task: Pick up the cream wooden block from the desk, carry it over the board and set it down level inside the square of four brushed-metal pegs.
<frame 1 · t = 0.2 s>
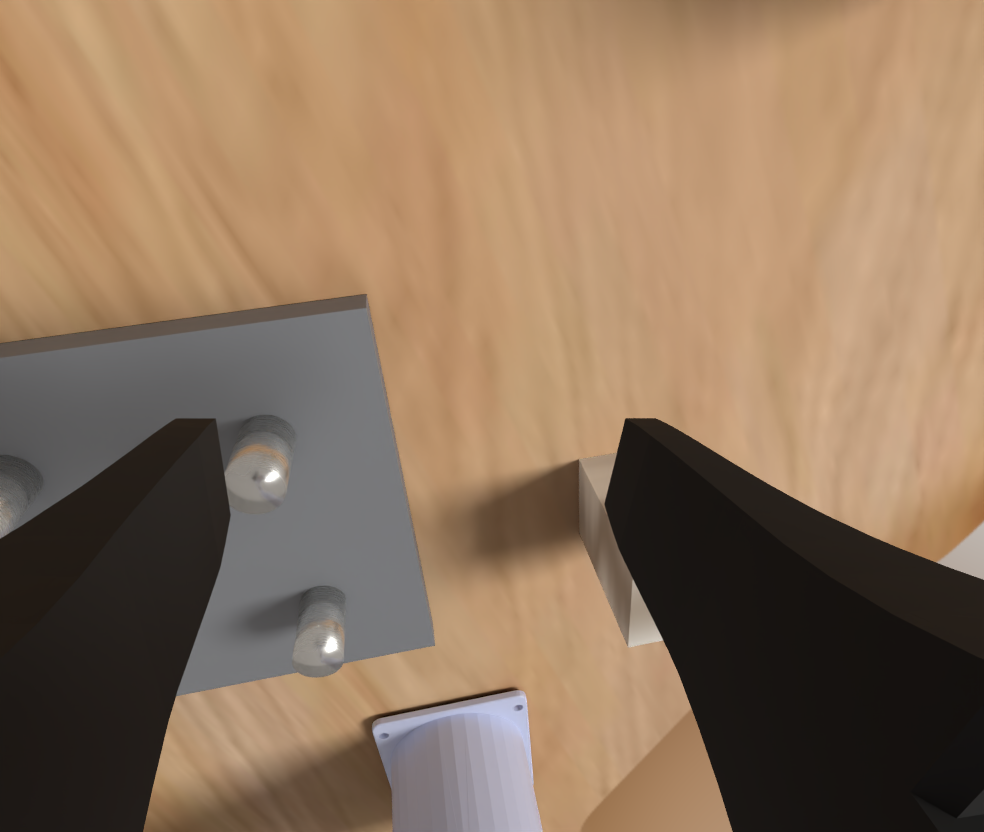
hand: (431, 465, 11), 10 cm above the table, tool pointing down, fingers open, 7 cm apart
peg board: (194, 524, 22), on the table
cream block: (624, 489, 25), on the table
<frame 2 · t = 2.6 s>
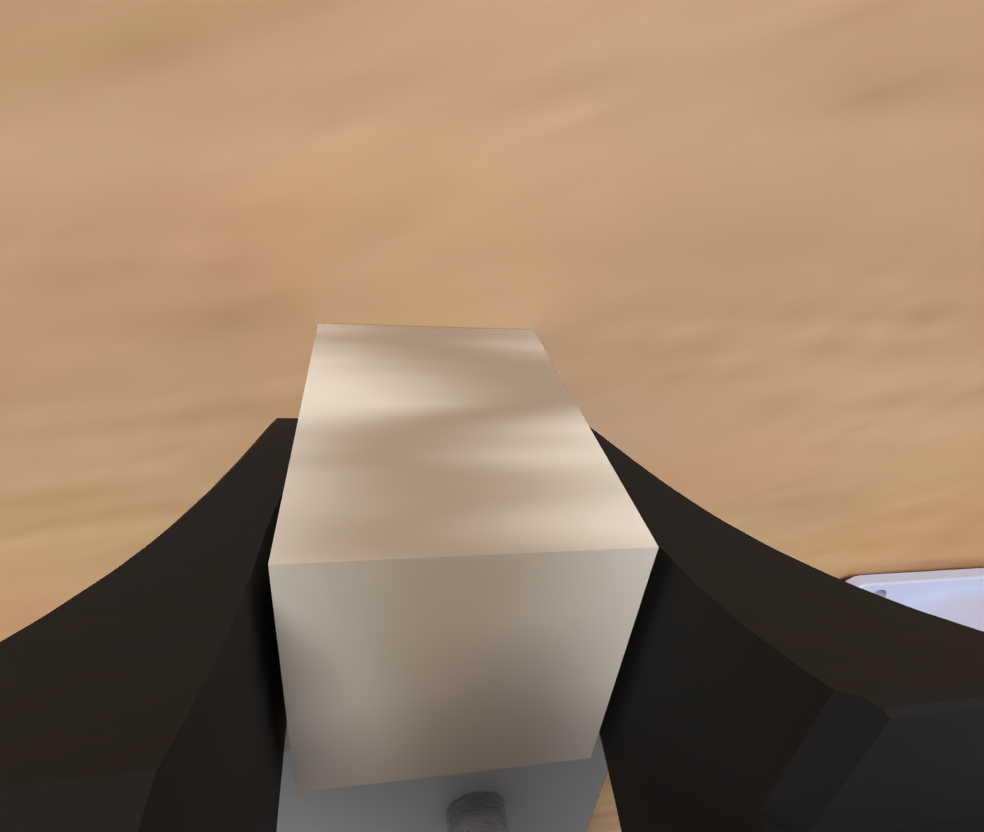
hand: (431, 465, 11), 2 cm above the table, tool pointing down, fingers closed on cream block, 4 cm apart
cream block: (424, 418, 12), on the table, touching gripper
when the fingers open (4 cm above the table, at t = 7.8 s): cream block drops 1 cm, resting on peg board.
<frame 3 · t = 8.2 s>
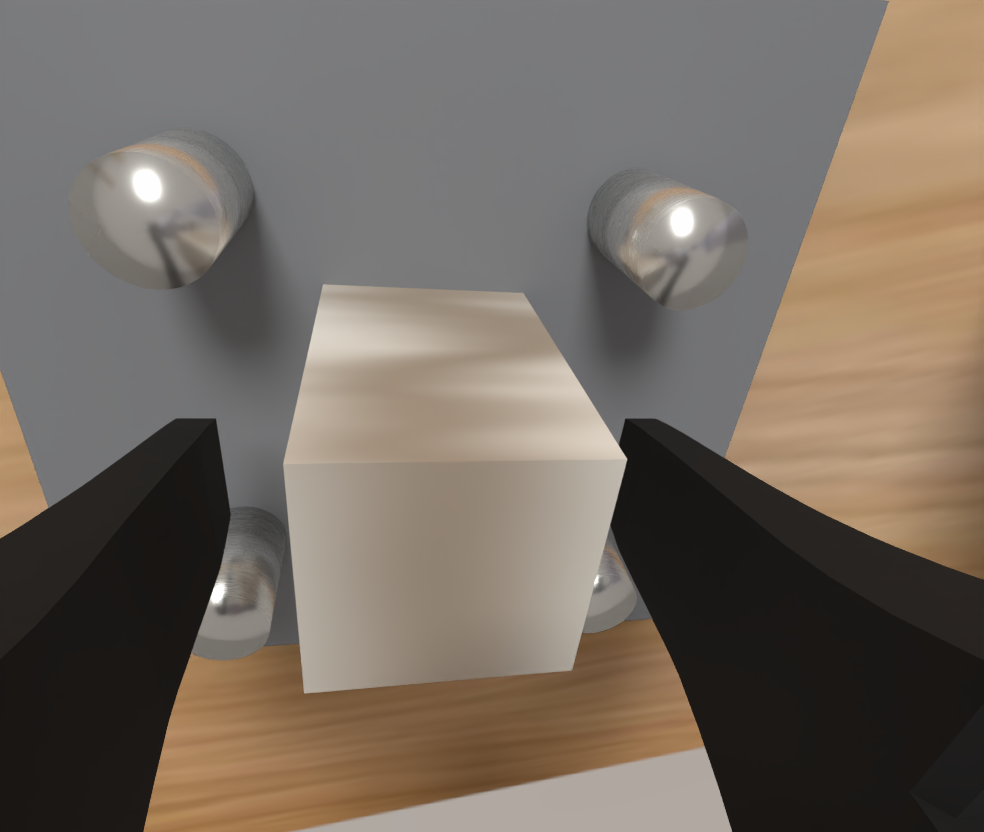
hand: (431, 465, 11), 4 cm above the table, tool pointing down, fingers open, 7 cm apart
peg board: (417, 366, 14), on the table
cream block: (422, 377, 13), point 1 cm above the table, touching peg board
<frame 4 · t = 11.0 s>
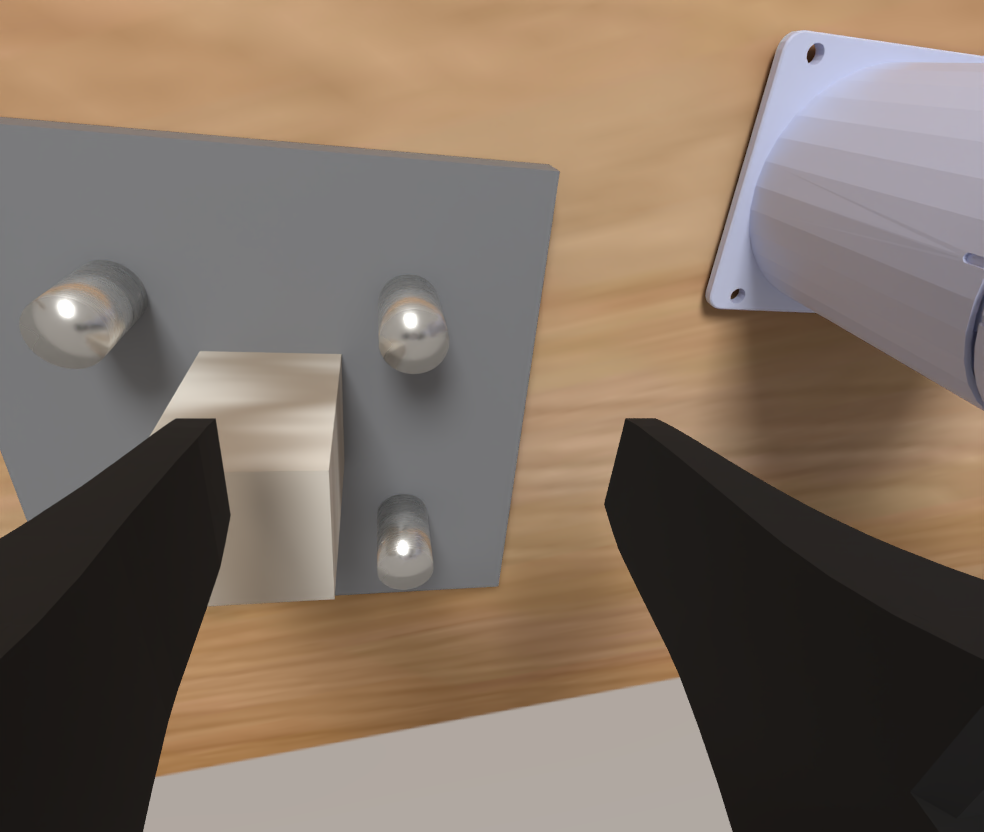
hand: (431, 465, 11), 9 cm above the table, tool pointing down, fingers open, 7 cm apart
peg board: (282, 401, 20), on the table
cream block: (277, 410, 19), point 1 cm above the table, touching peg board
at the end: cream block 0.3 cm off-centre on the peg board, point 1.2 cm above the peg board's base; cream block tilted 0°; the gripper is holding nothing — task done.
